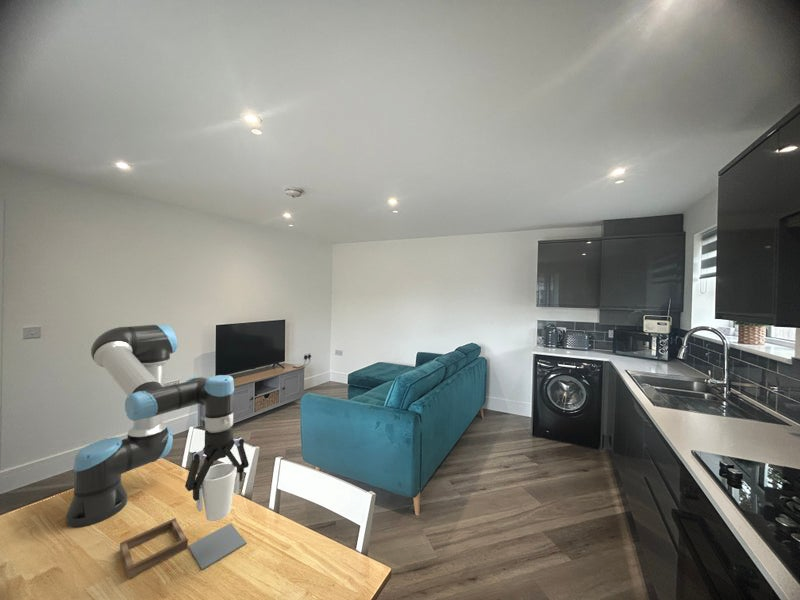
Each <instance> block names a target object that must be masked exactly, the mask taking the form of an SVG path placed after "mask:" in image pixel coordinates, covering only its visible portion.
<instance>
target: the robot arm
mask: <svg viewBox="0 0 800 600" xmlns="http://www.w3.org/2000/svg"><path fill="white" fill-rule="evenodd" d="M177 338H178V337H177V334H176V332H175V330H174V329H173V328H172V327H171V326H169V325H167V324H148V325H133V326H119V327H113V328H111V329H108V330H106V331H105V332H103V333H102V334H100V335H99V336H98V337H97V338H96V339H95V340H94V342H93V343H92V346H91V349H90V356H91V358H92V360H93V361H94V362H95V364H96V365H98V366H99V367H101V368H105V370H106V372H108V373H109V375H110V376H111V377H112V379H113V380H114V381H115V382H116V383H117V385H118V386H119V387H120V389H121V390H122V391H123V393H124V394H126V396H127V397H126V398H125V401H124V410H125V413H126V416H127V417H126V418H128V419H129V420H130V421H132V422H133V425H132V427H131V428H130V429H129V430H128V431H127V437H126V438H123V439H121V438H120V437H116V436H115V437H109V438H103V439H100V440H98V441H95V442H92V443H90V444H88V445H86V446H84V447H83V448H82V449H80V450H79V451H78V452H77V453H76V455H75V457H74V462H73V468H72V469H73V498H72V500H71V503H70V505H69V507H68V510H67V512H66V514H65V523H66V525H67V526H69V527H73V528H79V527H80V528H81V527H85V526H90V525H94V524H97V523H100V522H101V521H105V520H107V519H109V518H110V517H112V516H114V515H116V514H118V512H120V511H122V509H123V508H125V506H126V505H127V503H128V494H127V491H126V490H125V487H124V485H123V484H122V475H123V474H124V473H127V472H130V471H133V470H136V469H137V468H140V467H142V466H145V465H148V464H151V463H154V462H155V463H156V462H157V461H158V460H160V459H163V458H165V457H166V456H167V455H168V454H169V453H170V451H171V449H172V447H173V440H174V439H173V438H174V437H173V431H172V429H171V428H170V427H169V426H168V425H167V423H165V422H164V421H163V414H166V413H167V414H168V413H169V412H174V411H177V410H181V409H185V408H188V407H191V406H196V405H201V406H204V447H203V449H202V450H200V451H193V452H191V460H192V461H191V463H190V468H189V470H188V473H187V474H188V475H187V476H186V477H187V478H186V481H185V486H184V487H185V489H186V490H187V491H188V492H191V491H192V499H193V500H194V501H195V502H196V506H195V507H196V510H197V511H198V512H199V513H201V512H203V506H204V499H203V488H202V487H201V484H202V482H203V480H204V478H205V476H206V474H207V472H208V470H209V468H210V467H211V466H213V465H214V463H215V462H216V461H218V460H220V459H224V458H226V457H227V458H228V460H229V461H230V463H232V464H233V465H234V466H236V467H237V475H236V477H235V484H234V490H233V493H235V494H236V495H238V494H239V495H240V482H241V481H242V480H243V473H244V472H245V469H246V468H249V466H250V465H249V461H248V456H247V454H246V449H245V447H244V445H245V439H244V438H243V437H240V436H238V437H237V438H235V439H234V413H235V412H234V405H235V401H234V400H235V384H234V378H233V376H231V375H228V374H226V375H225V374H218V375H214V376H210V377H208V378H207V377H202V376H193V377H190V378H188V379H187V380H185V381H184V382H181V383H176V384H171V385H170V384H169V385H165V386H164V384H165V381H164V380H165V368H166V367H165V364H166V363H167V362H169V360H170V359H171V354H173V353H175V352H176V351H177V348H178V339H177ZM234 446H236V449H237V452H238V456H239V459H240V462H241V464H240V462H239V461H238V460H237V458H236V457H235V456H234V454H233V453H232V451H231V450H232V449H233V447H234ZM204 455H205V458H204V461H203V464H202V466H201V467H200V469H199V466H200V464H201V460H202V458H203V456H204ZM198 470H199V472H198Z"/></svg>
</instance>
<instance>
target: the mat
mask: <svg viewBox="0 0 800 600" xmlns="http://www.w3.org/2000/svg"><path fill="white" fill-rule="evenodd" d="M246 544H247V541H246V539H244V538H243V536H242V535H241V534H240V533H239V531H238V530H237V529H236V528H235V526H234V525H233V523H229V524H227V525H224V526H222V527H221V528H219V529H217V530H215V531H213V532H212V533H209V534H207V535H205V536H204V537H202V538H200V539H198V540H196V541H194V542H192V543H191V544H189V545H188V548H189V550H190V552H191V553H192V556H193V557H194V559H195V561H196V563H197V564H198V566H199V568H200V570H201V571H204V570H206V569H207V568H208V567H210V566H212V565H214V564H215V563H217V562H218V561H220V560H222V559H224V558H226V557H227V556H228V555H230V554H232V553H234V552H235V551H237V550H238V549H240V548H242V547H243V546H245V545H246Z"/></svg>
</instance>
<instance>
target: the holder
mask: <svg viewBox="0 0 800 600" xmlns="http://www.w3.org/2000/svg"><path fill="white" fill-rule="evenodd" d="M169 531H172V533H173V535H174V537H175V538H176V540H177V542H174V543H173V544H170V545H169V546H167V547H165V548H162V549H161V550H159V551H157V552H154V553H153V554H151V555H149V556H148V557H145V558H144V559H141V560H140V561H139V560H138V561H137V562H136V563H134V561H133V558H132V554H131V552H130V550H131V549H133V548H136V547H138V546H140V545H142V544H143V543H146V542H148V541H150V540H152V539H153V538H156V537H159V536H160V535H162V534H165V533H167V532H169ZM188 542H189V541H188V538H187V536H186V534H185V533H184V531H183V530H182V527H181V526H180V524H179V522H178V521H177V518H175V517H174V518H172V519H170V520H168V521H165V522H163V523H161V524H159V525H157V526H156V525H155V526H154V527H152V528H150V529H148V530H146V531H143V532H141V533H139V534H136V535H134V536H133V537H131V538H128V539H126V540H124V541H121V542H119V543H120V547H119V548H120V550H119V551H120V555H121V558H122V562H123V566H124V568H125V572H126V574H127V575H126V576H127V578H128V580H130V579H131V578H133V577H135V576H137V575H139V574H141V573H143V572H145V571H146V570H148V569H150V568H153V567H154V566H156V565H158V564H159V563H162V562H164V561H165V560H167V559H169V558H171V557H173V556H175V555H176V554H179V553H181V552H183V551H184V550H186V549H188V548H189V545H188Z"/></svg>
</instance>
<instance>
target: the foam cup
mask: <svg viewBox="0 0 800 600" xmlns="http://www.w3.org/2000/svg"><path fill="white" fill-rule="evenodd" d="M236 475H237V467H236V466H234V465H233V464H232V462H222V463H217V464H215V465H214V464H213V465H211V466H210V468H209V470H208V472H207V474H206V476H205V478H204V480H203V482H202V484H201V487H202V488H203V506H204V511H205V516H206V517H205V518H206V521H209V522H216V521H219V520H222V519H224V518H226V517H227V516H229V514H230V512H231V508H232V503H233V496H234V491H233V490H234V484H235V477H236Z"/></svg>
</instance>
